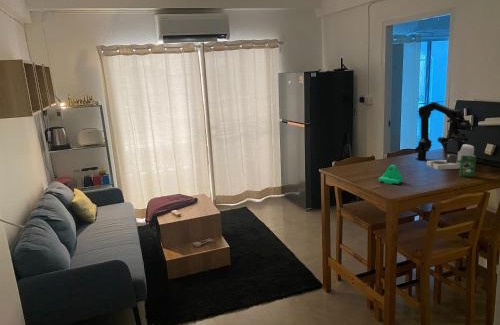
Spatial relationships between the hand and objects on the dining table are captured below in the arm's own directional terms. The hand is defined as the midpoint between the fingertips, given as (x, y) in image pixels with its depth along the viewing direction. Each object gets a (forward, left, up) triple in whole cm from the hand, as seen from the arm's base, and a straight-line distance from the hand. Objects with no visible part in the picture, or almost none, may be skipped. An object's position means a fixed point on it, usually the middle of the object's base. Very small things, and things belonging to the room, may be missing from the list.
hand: (452, 151), depth 254 cm
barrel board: (0, -4, -10) cm, 11 cm away
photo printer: (-12, +18, -10) cm, 24 cm away
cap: (0, 0, -7) cm, 7 cm away
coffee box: (+26, -5, -10) cm, 29 cm away
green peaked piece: (+30, -55, -11) cm, 64 cm away
